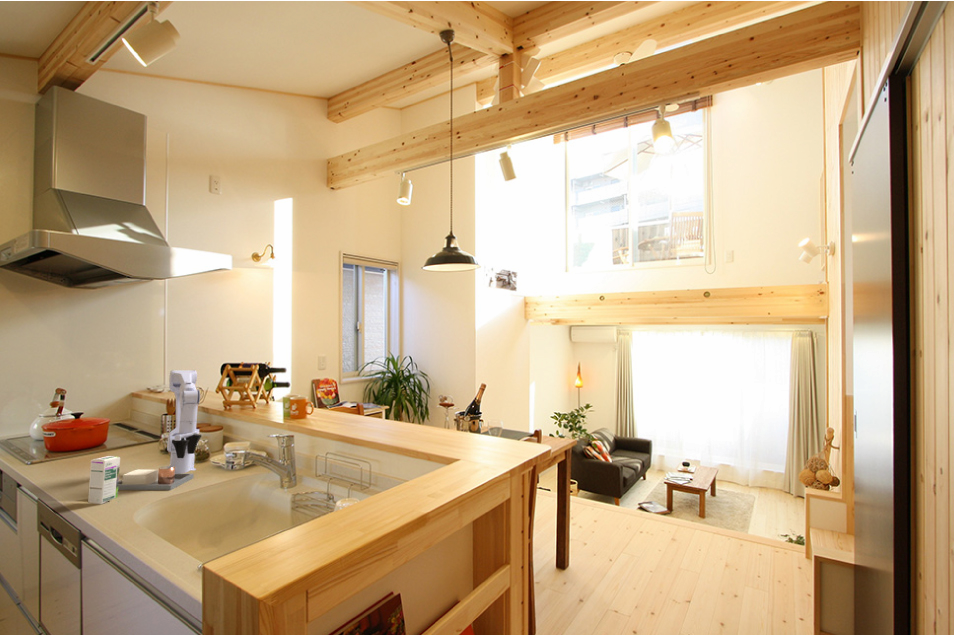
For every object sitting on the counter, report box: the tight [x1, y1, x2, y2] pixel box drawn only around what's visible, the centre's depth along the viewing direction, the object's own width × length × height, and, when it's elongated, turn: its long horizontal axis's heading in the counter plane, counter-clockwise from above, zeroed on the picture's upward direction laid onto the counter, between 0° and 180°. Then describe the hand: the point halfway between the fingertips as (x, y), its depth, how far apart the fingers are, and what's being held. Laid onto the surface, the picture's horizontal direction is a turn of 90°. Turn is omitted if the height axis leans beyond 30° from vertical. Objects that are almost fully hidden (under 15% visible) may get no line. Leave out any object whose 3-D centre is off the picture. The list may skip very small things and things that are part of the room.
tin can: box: [158, 465, 175, 485], centre depth 177 cm, size 5×5×6 cm
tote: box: [118, 473, 195, 491], centre depth 177 cm, size 16×21×2 cm
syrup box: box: [87, 455, 121, 505], centre depth 159 cm, size 6×6×14 cm
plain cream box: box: [121, 469, 159, 485], centre depth 176 cm, size 8×8×4 cm
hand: (185, 455), depth 184 cm, fingers open, 7 cm apart
